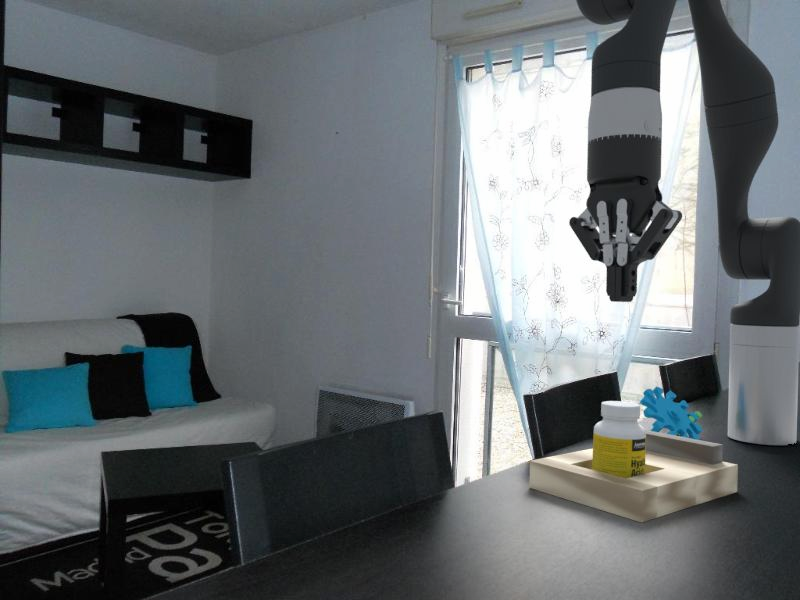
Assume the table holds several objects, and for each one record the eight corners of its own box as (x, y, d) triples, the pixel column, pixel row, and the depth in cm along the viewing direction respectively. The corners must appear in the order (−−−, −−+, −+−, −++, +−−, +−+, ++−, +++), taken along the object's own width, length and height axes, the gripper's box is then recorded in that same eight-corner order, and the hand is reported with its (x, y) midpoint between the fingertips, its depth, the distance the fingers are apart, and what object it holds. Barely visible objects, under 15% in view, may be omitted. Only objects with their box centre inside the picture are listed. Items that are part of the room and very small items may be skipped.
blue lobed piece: (664, 437, 98) (635, 380, 105) (639, 460, 102) (612, 404, 109) (722, 442, 102) (690, 388, 109) (695, 464, 106) (667, 410, 113)
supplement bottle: (637, 505, 72) (639, 409, 72) (585, 496, 75) (587, 404, 74) (649, 492, 76) (652, 402, 76) (600, 484, 79) (602, 397, 79)
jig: (626, 465, 88) (627, 425, 88) (737, 491, 77) (738, 446, 77) (529, 487, 77) (530, 442, 77) (641, 522, 66) (642, 469, 66)
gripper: (701, 133, 72) (698, 303, 72) (594, 152, 82) (591, 300, 83) (660, 122, 67) (656, 303, 68) (552, 143, 78) (549, 300, 78)
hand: (620, 301), depth 75 cm, fingers closed
